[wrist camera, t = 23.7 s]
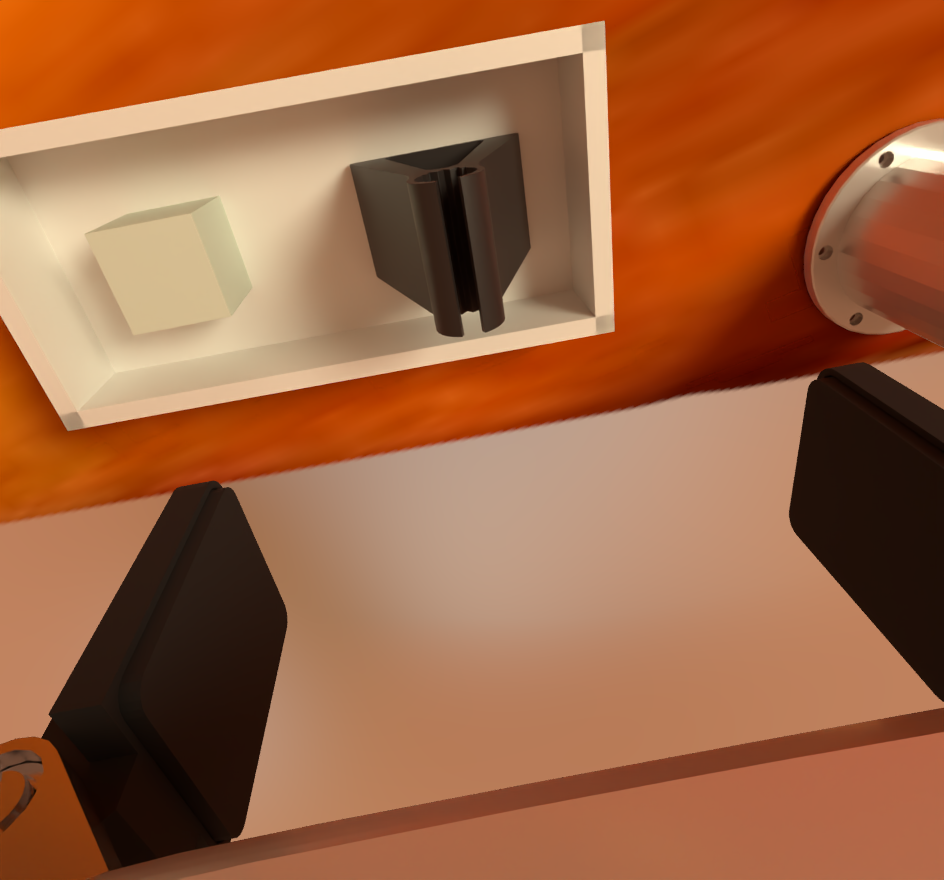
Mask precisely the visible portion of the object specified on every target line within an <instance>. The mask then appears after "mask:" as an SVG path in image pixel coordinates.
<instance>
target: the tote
mask: <svg viewBox="0 0 944 880" xmlns="http://www.w3.org/2000/svg"><path fill="white" fill-rule="evenodd" d="M512 133H519V143H520V152H521V161H522V171H523V180H524V189H525V199H526V208H527V217H528V227H529V236H530V245H531V249H530V250H529V252H528V254H527V255H526V257H525V259H524V261H523V262H522V264H521V266H520V268H519V269H518V271H517V273H516V275H515V276H514V278H513V280H512V281H511V283H510V285H509V287H508V288H507V290H506V292H505V294H504V295H503V297H502V298H503V306H504V313H505V321H504V322H503V323H502V324H501V325H500V326H499V327H497V328H495V329H493V330H491V331H489V332H486V333H484V332H483V331H482V327H481V321H480V314H479V310H478V311H476V312H469V311H467V312H465V313H464V314H462V315H461V318H462V324H463V330H464V336H463V337H448V336H444V335H441V334H439V333H438V332H437V330H436V326H435V321H434V316H433V314H432V313H430V312H429V311H427V310H426V309H424V308H423V307H421V306H420V305H418V304H417V303H415V302H414V301H412V300H411V299H409V298H408V297H406V296H405V295H403V294H402V293H400V292H399V291H397V290H396V289H394V288H393V287H391V286H390V285H388V284H387V283H385V282H384V281H382V280H381V279H379V278H378V277H377V275H376V271H375V267H374V263H373V259H372V255H371V251H370V247H369V243H368V239H367V235H366V230H365V226H364V222H363V218H362V214H361V210H360V206H359V202H358V198H357V194H356V189H355V185H354V181H353V177H352V173H351V169H350V164H353V163H358V162H363V161H368V160H374V159H379V158H384V157H390V156H395V155H400V154H406V153H411V152H416V151H421V150H427V149H434V148H437V147H443V146H448V145H453V144H459V143H464V142H469V141H475V140H480V139H485V138H491V137H496V136H501V135H507V134H512ZM215 196H220V198H221V201H222V204H223V207H224V209H225V212H226V215H227V218H228V220H229V223H230V226H231V229H232V231H233V234H234V237H235V240H236V242H237V245H238V248H239V251H240V253H241V256H242V259H243V262H244V264H245V267H246V270H247V273H248V276H249V278H250V281H251V284H252V287H253V288H252V289H251V290H250V292H249V293H248V295H247V296H246V297H245V299H244V300H243V301H242V303H241V304H240V305H239V307H238V308H237V309H236V311H235V312H234V314H233V315H232V316H231V317H226V318H221V319H215V320H210V321H205V322H200V323H195V324H190V325H185V326H179V327H174V328H169V329H164V330H159V331H154V332H149V333H144V334H138V335H133V333H132V331H131V329H130V327H129V325H128V323H127V321H126V319H125V317H124V315H123V313H122V311H121V309H120V306H119V304H118V302H117V300H116V298H115V296H114V294H113V292H112V290H111V288H110V286H109V284H108V282H107V280H106V278H105V276H104V274H103V272H102V270H101V268H100V266H99V263H98V261H97V259H96V257H95V255H94V253H93V251H92V249H91V247H90V245H89V243H88V241H87V239H86V237H85V235H84V234H85V233H88V232H90V231H92V230H94V229H96V228H98V227H100V226H102V225H104V224H106V223H109V222H111V221H113V220H115V219H117V218H119V217H121V216H123V215H125V214H128V213H133V212H139V211H144V210H149V209H154V208H159V207H164V206H169V205H174V204H179V203H185V202H190V201H195V200H200V199H205V198H210V197H215ZM0 316H1V317H2V319H3V321H4V323H5V324H6V326H7V328H8V329H9V331H10V333H11V335H12V336H13V338H14V340H15V341H16V343H17V345H18V346H19V348H20V350H21V352H22V353H23V355H24V357H25V358H26V360H27V362H28V364H29V365H30V367H31V369H32V370H33V372H34V374H35V376H36V377H37V379H38V381H39V382H40V384H41V386H42V387H43V389H44V391H45V393H46V394H47V396H48V398H49V399H50V401H51V403H52V405H53V406H54V408H55V410H56V411H57V413H58V415H59V417H60V418H61V420H62V422H63V423H64V425H65V427H66V429H67V430H68V431H71V430H76V429H82V428H87V427H93V426H98V425H104V424H109V423H115V422H120V421H126V420H131V419H137V418H142V417H148V416H153V415H159V414H164V413H169V412H175V411H180V410H186V409H191V408H197V407H202V406H208V405H213V404H219V403H224V402H230V401H235V400H241V399H246V398H252V397H257V396H263V395H268V394H274V393H279V392H285V391H290V390H296V389H301V388H307V387H312V386H318V385H323V384H329V383H334V382H340V381H345V380H351V379H356V378H362V377H367V376H373V375H378V374H384V373H389V372H395V371H400V370H406V369H411V368H417V367H422V366H428V365H433V364H439V363H444V362H449V361H455V360H460V359H466V358H471V357H477V356H482V355H488V354H493V353H499V352H504V351H510V350H515V349H521V348H526V347H532V346H537V345H543V344H548V343H554V342H559V341H565V340H570V339H576V338H581V337H587V336H592V335H598V334H603V333H609V332H614V331H615V328H614V297H613V265H612V234H611V202H610V171H609V139H608V108H607V76H606V45H605V21H600V22H595V23H589V24H584V25H578V26H573V27H567V28H562V29H556V30H550V31H545V32H539V33H534V34H528V35H523V36H517V37H512V38H506V39H500V40H495V41H489V42H484V43H478V44H473V45H467V46H461V47H456V48H450V49H445V50H439V51H434V52H428V53H423V54H417V55H411V56H406V57H400V58H395V59H389V60H384V61H378V62H373V63H367V64H361V65H356V66H350V67H345V68H339V69H334V70H328V71H323V72H317V73H311V74H306V75H300V76H295V77H289V78H284V79H278V80H273V81H267V82H261V83H256V84H250V85H245V86H239V87H234V88H228V89H223V90H217V91H211V92H206V93H200V94H195V95H189V96H184V97H178V98H172V99H167V100H161V101H156V102H150V103H145V104H139V105H134V106H128V107H122V108H117V109H111V110H106V111H100V112H95V113H89V114H84V115H78V116H72V117H67V118H61V119H56V120H50V121H45V122H39V123H34V124H28V125H22V126H17V127H11V128H6V129H0Z"/></svg>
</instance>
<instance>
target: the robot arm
mask: <svg viewBox="0 0 944 880" xmlns="http://www.w3.org/2000/svg"><path fill="white" fill-rule="evenodd" d="M804 277H805V281H806V286H807V290H808V293H809V295H810V297H811V299H812V301H813V303H814V305H815V306H816V307H817V308H818V309H819V311H820V312H821V313H822V314H823V315H824V316H825V317H827V318H828V319H830V320H831V321H833V322H834V323H836V324H838V325H839V326H841V327H843V328H845V329H847V330H850V331H853V332H858V333H862V334H888V333H893V332H899V331H903V330H906V329H907V330H909V331H911V332H913V333H915V334H917V335H919V336H921V337H923V338H925V339H927V340H929V341H931V342H933V343H935V344H937V345H939V346H941V347H944V119H934V120H929V121H923V122H918V123H915V124H913V125H910V126H907V127H905V128H902V129H899V130H897V131H895V132H893V133H892V134H890V135H888V136H887V137H885V138H883V139H881V140H880V141H878V142H876V143H875V144H874V145H872V146H871V147H870V148H869V149H867V150H866V151H865V152H864V153H862V154H861V155H860V156H859V157H857V158H856V159H855V160H854V161H853V162H852V164H851V165H850V166H849V167H848V168H847V169H846V170H845V171H844V172H843V173H842V174H841V175H840V176H839V178H838V179H837V180H836V182H835V183H834V185H833V186H832V187H831V189H830V190H829V191H828V193H827V194H826V196H825V197H824V199H823V201H822V203H821V205H820V207H819V209H818V211H817V213H816V215H815V216H814V219H813V222H812V225H811V228H810V231H809V233H808V236H807V242H806V247H805V253H804ZM789 518H790V523H791V526H792V528H793V530H794V532H795V533H796V535H797V536H798V537H799V538H800V539H801V540H802V542H803V543H804V544H805V545H806V546H807V547H808V549H809V550H810V551H811V552H812V553H813V554H814V555H815V557H816V558H817V559H818V560H819V561H820V562H821V564H822V565H823V566H824V567H825V568H826V569H827V570H828V572H829V573H830V574H831V575H832V576H833V577H834V578H835V580H836V581H837V582H838V583H839V584H840V585H841V587H843V589H844V590H845V591H846V592H847V593H848V595H849V596H850V597H851V598H852V599H853V600H854V601H855V603H856V604H857V605H858V606H859V607H860V608H861V610H862V611H863V612H864V613H865V614H866V615H867V617H868V618H869V619H870V620H871V621H872V622H873V623H874V625H875V626H876V627H877V628H878V629H879V630H880V632H882V634H883V635H884V636H885V637H886V638H887V639H888V641H889V642H890V643H891V644H892V645H893V646H894V648H895V649H896V650H897V651H898V652H899V653H900V655H901V656H902V657H903V658H904V659H905V660H906V662H907V663H908V664H909V665H910V666H911V667H912V668H913V670H914V671H916V673H917V674H918V675H919V676H920V678H921V679H922V680H923V681H924V682H925V683H926V685H927V686H928V687H929V688H930V689H931V690H932V691H933V693H934V694H935V695H936V696H937V697H938V698H939V699H941V700H942V701H943V702H944V410H943V409H942V408H940V407H938V406H937V405H935V404H933V403H932V402H930V401H928V400H927V399H925V398H924V397H922V396H920V395H919V394H917V393H915V392H914V391H912V390H911V389H909V388H907V387H905V386H904V385H902V384H901V383H899V382H897V381H896V380H894V379H892V378H891V377H889V376H887V375H886V374H884V373H882V372H881V371H879V370H877V369H876V368H874V367H873V366H871V365H869V364H866V363H864V362H863V363H855V364H850V365H844V366H839V367H833V368H828V369H825V370H823V371H822V372H821V373H820V374H819V376H818V378H817V380H814V381H812V382H811V384H810V385H809V388H808V392H807V398H806V405H805V411H804V418H803V424H802V431H801V437H800V445H799V450H798V457H797V464H796V470H795V477H794V483H793V490H792V497H791V503H790V510H789ZM286 629H287V612H286V608H285V604H284V602H283V600H282V597H281V595H280V593H279V591H278V588H277V586H276V584H275V582H274V579H273V577H272V575H271V573H270V571H269V568H268V566H267V564H266V561H265V559H264V557H263V555H262V553H261V550H260V548H259V546H258V544H257V541H256V539H255V537H254V535H253V532H252V530H251V528H250V526H249V523H248V521H247V519H246V517H245V514H244V512H243V510H242V508H241V505H240V503H239V501H238V499H237V496H236V494H235V493H234V491H233V490H232V489H231V488H229V487H227V488H222V486H221V485H220V484H219V483H218V482H216V481H209V482H204V483H198V484H193V485H187V486H182V487H178V488H176V490H175V491H174V492H173V494H172V496H171V497H170V499H169V501H168V503H167V505H166V506H165V508H164V510H163V512H162V514H161V515H160V517H159V519H158V521H157V522H156V524H155V526H154V528H153V529H152V531H151V533H150V535H149V537H148V538H147V540H146V542H145V544H144V545H143V547H142V549H141V551H140V552H139V554H138V556H137V558H136V560H135V561H134V563H133V565H132V567H131V568H130V570H129V572H128V574H127V576H126V577H125V579H124V581H123V583H122V585H121V586H120V588H119V590H118V592H117V593H116V595H115V597H114V599H113V600H112V602H111V604H110V606H109V608H108V610H107V611H106V613H105V615H104V616H103V618H102V620H101V622H100V624H99V625H98V627H97V629H96V631H95V632H94V634H93V636H92V638H91V640H90V641H89V643H88V645H87V647H86V648H85V650H84V652H83V654H82V656H81V657H80V659H79V661H78V663H77V664H76V666H75V668H74V670H73V672H72V674H71V675H70V677H69V679H68V680H67V682H66V684H65V686H64V688H63V689H62V691H61V693H60V695H59V697H58V698H57V700H56V702H55V704H54V705H53V707H52V709H51V711H50V713H49V715H50V717H52V720H51V721H50V723H49V725H48V727H47V729H46V730H45V732H44V734H43V736H42V738H38V737H27V738H18V739H14V740H11V741H8V742H6V743H3V744H0V880H944V708H940V709H934V710H929V711H923V712H917V713H912V714H906V715H901V716H895V717H889V718H884V719H878V720H873V721H867V722H862V723H856V724H850V725H845V726H839V727H834V728H828V729H823V730H817V731H811V732H806V733H800V734H795V735H789V736H784V737H779V738H773V739H768V740H762V741H757V742H751V743H746V744H740V745H735V746H730V747H724V748H719V749H714V750H708V751H703V752H697V753H692V754H686V755H681V756H675V757H670V758H665V759H659V760H654V761H648V762H643V763H638V764H633V765H627V766H622V767H616V768H611V769H605V770H600V771H595V772H589V773H584V774H579V775H573V776H568V777H562V778H557V779H552V780H546V781H541V782H536V783H531V784H525V785H520V786H514V787H510V788H504V789H499V790H494V791H488V792H483V793H478V794H473V795H467V796H462V797H457V798H452V799H446V800H441V801H436V802H431V803H426V804H421V805H415V806H410V807H405V808H399V809H394V810H389V811H384V812H378V813H373V814H368V815H363V816H357V817H352V818H347V819H342V820H336V821H331V822H326V823H321V824H316V825H311V826H306V827H302V828H297V829H292V830H287V831H282V832H277V833H273V834H268V835H263V836H258V837H254V838H249V839H244V840H239V841H234V842H230V841H231V839H232V838H237V837H238V836H239V835H240V834H241V832H242V830H243V827H244V824H245V820H246V815H247V811H248V806H249V802H250V797H251V792H252V788H253V783H254V778H255V773H256V769H257V765H258V760H259V755H260V750H261V745H262V741H263V737H264V732H265V727H266V723H267V717H268V713H269V709H270V704H271V699H272V695H273V690H274V685H275V681H276V676H277V671H278V667H279V662H280V657H281V653H282V647H283V643H284V638H285V634H286Z"/></svg>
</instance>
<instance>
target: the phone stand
mask: <svg viewBox="0 0 944 880" xmlns="http://www.w3.org/2000/svg"><path fill="white" fill-rule="evenodd" d="M350 169H351V173H352V177H353V181H354V185H355V189H356V194H357V198H358V202H359V206H360V210H361V214H362V218H363V222H364V226H365V230H366V235H367V239H368V243H369V247H370V251H371V255H372V259H373V263H374V267H375V271H376V275H377V277H378V278H379V279H381V280H382V281H384V282H385V283H387V284H388V285H390V286H391V287H393V288H394V289H396V290H397V291H399V292H400V293H402V294H403V295H405V296H406V297H408V298H409V299H411V300H412V301H414V302H415V303H417V304H418V305H420V306H421V307H423V308H424V309H426V310H427V311H429V312H430V313H432V314H433V316H434V321H435V326H436V330H437V332H438V333H439V334H441V335H444V336H448V337H463V336H464V330H463V324H462V318H461V315H462V314H464V313H465V312H467V311H469V312H476V311H478V310H479V314H480V321H481V327H482V331H483V332H484V333H486V332H489V331H491V330H493V329H495V328H497V327H499V326H500V325H501V324H502V323H503V322H504V321H505V313H504V306H503V298H502V297H503V295H504V294H505V292H506V290H507V288H508V287H509V285H510V283H511V281H512V280H513V278H514V276H515V275H516V273H517V271H518V269H519V268H520V266H521V264H522V262H523V261H524V259H525V257H526V255H527V254H528V252H529V250H530V249H531V245H530V236H529V227H528V217H527V208H526V199H525V189H524V180H523V171H522V161H521V152H520V143H519V133H512V134H507V135H501V136H496V137H491V138H485V139H480V140H475V141H469V142H464V143H459V144H453V145H448V146H443V147H437V148H434V149H427V150H421V151H416V152H411V153H406V154H400V155H395V156H390V157H384V158H379V159H374V160H368V161H363V162H358V163H353V164H350Z"/></svg>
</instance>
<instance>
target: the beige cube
mask: <svg viewBox="0 0 944 880" xmlns="http://www.w3.org/2000/svg"><path fill="white" fill-rule="evenodd" d="M84 235H85V237H86V239H87V241H88V243H89V245H90V247H91V249H92V251H93V253H94V255H95V257H96V259H97V261H98V263H99V266H100V268H101V270H102V272H103V274H104V276H105V278H106V280H107V282H108V284H109V286H110V288H111V290H112V292H113V294H114V296H115V298H116V300H117V302H118V304H119V306H120V309H121V311H122V313H123V315H124V317H125V319H126V321H127V323H128V325H129V327H130V329H131V331H132V333H133V335H138V334H144V333H149V332H154V331H159V330H164V329H169V328H174V327H179V326H185V325H190V324H195V323H200V322H205V321H210V320H215V319H221V318H226V317H231V316H232V315H233V314H234V312H235V311H236V309H237V308H238V307H239V305H240V304H241V303H242V301H243V300H244V299H245V297H246V296H247V295H248V293H249V292H250V290H251V289H252V288H253V287H252V284H251V281H250V278H249V276H248V273H247V270H246V267H245V264H244V262H243V259H242V256H241V253H240V251H239V248H238V245H237V242H236V240H235V237H234V234H233V231H232V229H231V226H230V223H229V220H228V218H227V215H226V212H225V209H224V207H223V204H222V201H221V198H220V196H215V197H210V198H205V199H200V200H195V201H190V202H185V203H179V204H174V205H169V206H164V207H159V208H154V209H149V210H144V211H139V212H133V213H128V214H125V215H123V216H121V217H119V218H117V219H115V220H113V221H111V222H109V223H106V224H104V225H102V226H100V227H98V228H96V229H94V230H92V231H90V232H88V233H85V234H84Z"/></svg>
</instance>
